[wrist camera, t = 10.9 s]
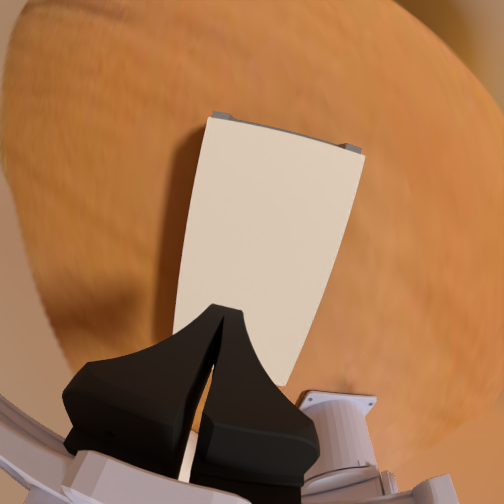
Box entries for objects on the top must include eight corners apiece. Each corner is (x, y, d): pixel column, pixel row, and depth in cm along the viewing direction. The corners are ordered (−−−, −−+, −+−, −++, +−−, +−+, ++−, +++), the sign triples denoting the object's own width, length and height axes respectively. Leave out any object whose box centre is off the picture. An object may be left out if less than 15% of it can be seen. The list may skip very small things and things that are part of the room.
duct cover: (286, 379, 20) (285, 386, 20) (174, 351, 21) (170, 357, 20) (363, 156, 15) (367, 156, 14) (211, 119, 15) (208, 117, 14)
